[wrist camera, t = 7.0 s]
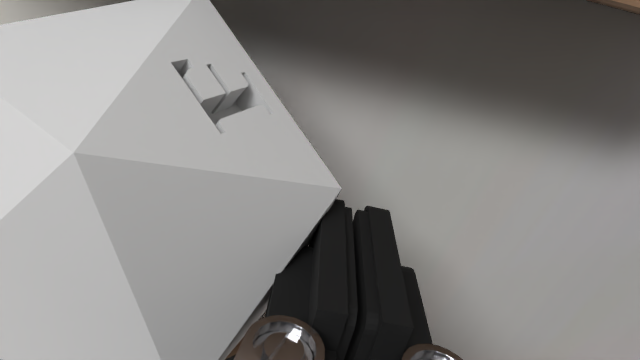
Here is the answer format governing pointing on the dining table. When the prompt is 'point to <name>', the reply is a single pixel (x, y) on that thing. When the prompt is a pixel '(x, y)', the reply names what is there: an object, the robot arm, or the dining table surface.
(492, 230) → the dining table surface
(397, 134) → the dining table surface
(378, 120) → the dining table surface
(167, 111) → the die
